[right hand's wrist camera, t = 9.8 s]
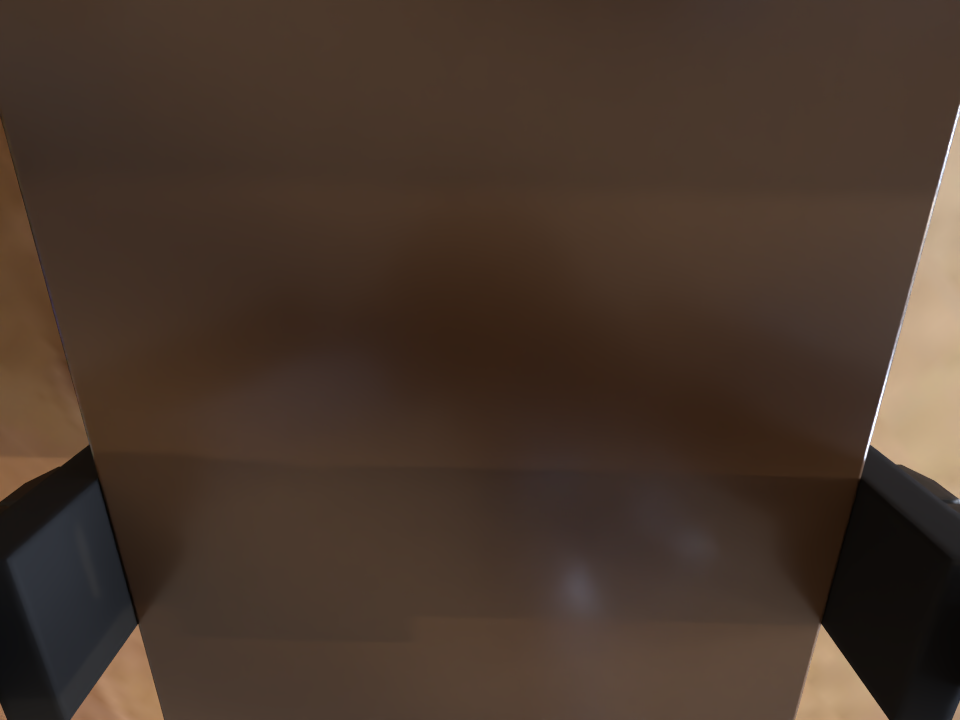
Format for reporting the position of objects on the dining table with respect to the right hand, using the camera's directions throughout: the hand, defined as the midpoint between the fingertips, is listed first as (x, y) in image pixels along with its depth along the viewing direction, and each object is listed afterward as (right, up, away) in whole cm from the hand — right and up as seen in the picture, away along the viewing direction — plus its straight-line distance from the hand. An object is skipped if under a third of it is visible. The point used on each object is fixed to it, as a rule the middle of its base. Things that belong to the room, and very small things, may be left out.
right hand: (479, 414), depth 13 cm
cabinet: (0, +5, +3) cm, 6 cm away
